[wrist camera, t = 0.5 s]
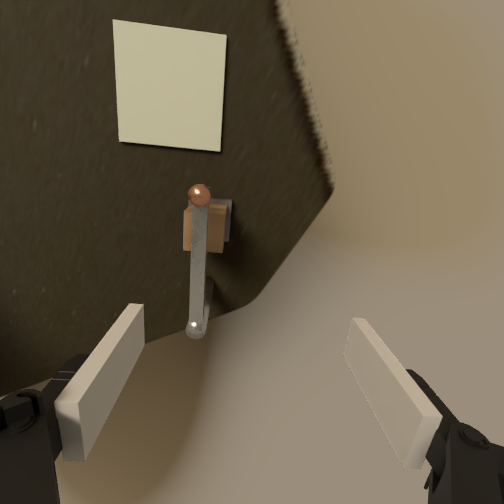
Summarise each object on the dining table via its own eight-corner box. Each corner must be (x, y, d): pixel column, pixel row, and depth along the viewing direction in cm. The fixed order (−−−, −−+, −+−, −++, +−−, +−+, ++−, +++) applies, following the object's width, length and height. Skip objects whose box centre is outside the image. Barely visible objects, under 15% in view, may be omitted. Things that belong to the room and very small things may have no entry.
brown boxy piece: (189, 236, 44) (177, 254, 35) (190, 196, 42) (178, 205, 33) (229, 239, 44) (227, 258, 36) (232, 199, 42) (230, 209, 34)
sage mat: (120, 141, 39) (119, 141, 38) (114, 21, 34) (112, 19, 34) (220, 151, 40) (220, 151, 39) (226, 37, 36) (226, 35, 35)
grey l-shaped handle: (199, 288, 47) (183, 344, 32) (204, 175, 41) (186, 183, 27) (213, 289, 47) (204, 345, 33) (220, 177, 41) (211, 186, 27)
